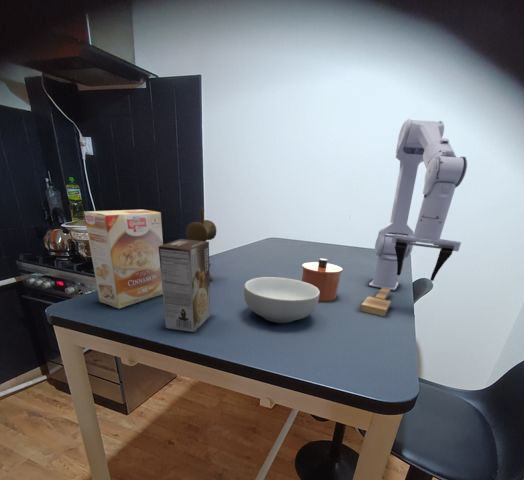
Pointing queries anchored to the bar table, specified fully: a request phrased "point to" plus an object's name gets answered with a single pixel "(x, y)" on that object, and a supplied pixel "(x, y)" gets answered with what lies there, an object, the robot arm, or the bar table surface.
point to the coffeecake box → (125, 255)
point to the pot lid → (322, 267)
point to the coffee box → (185, 283)
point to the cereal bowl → (281, 298)
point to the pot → (323, 284)
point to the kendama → (201, 230)
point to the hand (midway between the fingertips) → (414, 277)
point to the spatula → (377, 303)
